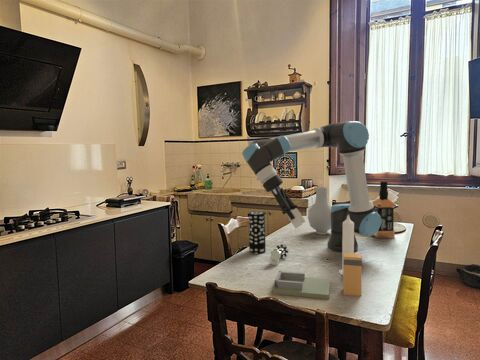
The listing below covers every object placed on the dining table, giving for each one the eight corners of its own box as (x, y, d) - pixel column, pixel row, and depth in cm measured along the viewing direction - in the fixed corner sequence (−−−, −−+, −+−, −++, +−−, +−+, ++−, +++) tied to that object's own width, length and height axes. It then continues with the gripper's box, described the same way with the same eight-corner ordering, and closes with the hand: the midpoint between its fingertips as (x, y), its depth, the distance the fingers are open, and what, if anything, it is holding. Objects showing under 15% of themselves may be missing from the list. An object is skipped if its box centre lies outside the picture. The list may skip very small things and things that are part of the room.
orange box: (360, 290, 128) (360, 253, 126) (361, 296, 123) (361, 257, 122) (343, 288, 129) (343, 252, 128) (343, 294, 125) (343, 256, 123)
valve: (280, 266, 155) (288, 258, 166) (280, 252, 154) (288, 244, 165) (266, 264, 158) (275, 256, 169) (266, 250, 157) (275, 243, 168)
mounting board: (329, 282, 136) (329, 272, 135) (329, 299, 121) (329, 288, 121) (279, 278, 141) (279, 268, 140) (272, 293, 126) (272, 283, 126)
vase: (339, 231, 212) (339, 186, 209) (331, 238, 199) (331, 189, 196) (313, 228, 221) (313, 185, 218) (303, 234, 207) (303, 188, 205)
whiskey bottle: (395, 238, 195) (396, 181, 192) (377, 238, 195) (378, 182, 192) (387, 233, 205) (388, 180, 202) (371, 233, 206) (371, 180, 202)
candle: (336, 270, 148) (336, 213, 145) (352, 270, 148) (353, 212, 146) (342, 277, 140) (343, 216, 138) (359, 276, 141) (360, 215, 139)
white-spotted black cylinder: (264, 254, 172) (263, 214, 170) (248, 253, 174) (247, 214, 172) (266, 249, 180) (265, 211, 178) (250, 248, 182) (250, 211, 180)
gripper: (268, 185, 148) (296, 226, 145) (254, 184, 125) (288, 234, 121) (282, 175, 147) (311, 217, 143) (271, 172, 123) (306, 222, 119)
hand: (301, 224), depth 132 cm, fingers open, 13 cm apart
